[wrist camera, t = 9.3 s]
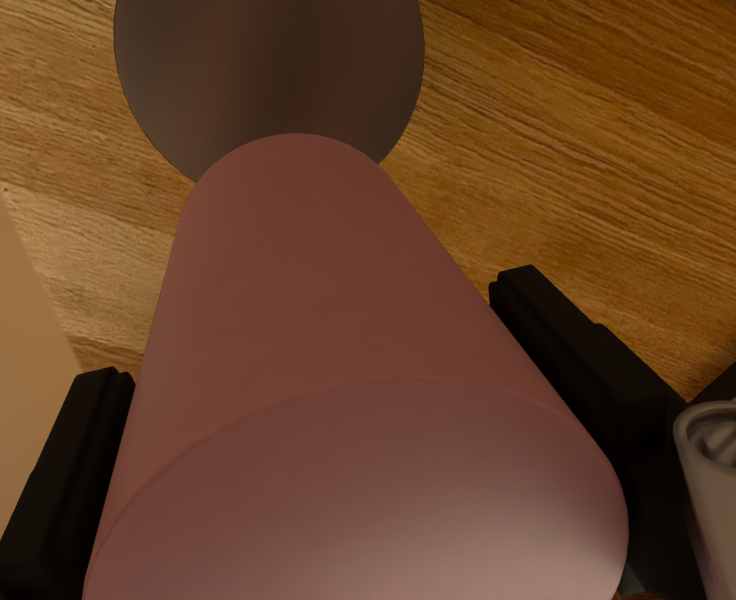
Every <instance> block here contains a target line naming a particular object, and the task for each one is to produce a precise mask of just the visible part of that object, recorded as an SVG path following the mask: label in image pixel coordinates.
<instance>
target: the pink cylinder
mask: <svg viewBox="0 0 736 600" xmlns="http://www.w3.org/2000/svg"><path fill="white" fill-rule="evenodd" d="M628 540H629V526H628V511H627V506H626V502H625V498H624V494H623V490H622V486H621V484H620V482H619V479H618V477H617V475H616V473H615V471H614V469H613V467H612V465H611V463H610V461H609V460H608V458H607V457H606V456H605V454H604V453H603V452H602V450H601V449H600V448H599V446H598V445H597V444H596V442H595V441H594V440H593V438H592V437H591V436H590V434H589V433H588V432H587V431H586V429H585V428H584V427H583V425H582V424H581V423H580V422H579V420H578V419H577V418H576V416H575V415H574V414H573V413H572V411H571V410H570V409H569V407H568V406H567V405H566V403H565V402H564V401H563V400H562V398H561V397H560V396H559V394H558V393H557V392H556V391H555V389H554V388H553V387H552V385H551V384H550V383H549V382H548V380H547V379H546V378H545V376H544V375H543V374H542V373H541V371H540V370H539V369H538V367H537V366H536V365H535V364H534V362H533V361H532V360H531V358H530V357H529V356H528V355H527V353H526V352H525V351H524V349H523V348H522V347H521V346H520V344H519V343H518V342H517V340H516V339H515V338H514V337H513V335H512V334H511V333H510V331H509V330H508V329H507V328H506V326H505V325H504V324H503V322H502V321H501V320H500V319H499V317H498V316H497V315H496V313H495V312H494V311H493V310H492V308H491V307H490V306H489V304H488V303H487V302H486V301H485V299H484V298H483V297H482V295H481V294H480V293H479V292H478V290H477V289H476V288H475V286H474V285H473V284H472V283H471V281H470V280H469V279H468V277H467V276H466V275H465V273H464V272H463V271H462V270H461V268H460V267H459V266H458V264H457V263H456V262H455V261H454V259H453V258H452V257H451V255H450V254H449V253H448V252H447V250H446V249H445V248H444V246H443V245H442V244H441V243H440V241H439V240H438V239H437V237H436V236H435V235H434V234H433V232H432V231H431V230H430V228H429V227H428V226H427V225H426V223H425V222H424V221H423V219H422V218H421V217H420V216H419V214H418V213H417V212H416V210H415V209H414V208H413V207H412V205H411V204H410V203H409V201H408V200H407V199H406V198H405V196H404V195H403V194H402V192H401V191H400V190H399V189H398V187H397V186H396V185H395V183H394V182H393V181H392V180H391V178H390V177H389V176H388V174H387V173H386V172H385V171H384V170H383V169H382V168H381V167H380V166H379V165H378V164H377V163H376V162H375V161H373V160H372V159H371V158H369V157H368V156H367V155H365V154H364V153H363V152H361V151H359V150H357V149H355V148H354V147H352V146H350V145H348V144H345V143H343V142H340V141H338V140H335V139H332V138H328V137H324V136H320V135H312V134H303V133H298V134H281V135H274V136H268V137H265V138H261V139H258V140H254V141H252V142H249V143H247V144H245V145H243V146H240V147H238V148H236V149H235V150H233V151H231V152H230V153H228V154H227V155H225V156H223V157H222V158H221V159H220V160H218V161H217V162H216V163H215V164H214V165H212V166H211V167H210V168H209V169H208V170H207V171H206V173H205V174H204V175H203V176H202V177H201V178H200V179H199V181H198V182H197V184H196V185H195V186H194V188H193V189H192V191H191V192H190V194H189V196H188V198H187V200H186V203H185V205H184V207H183V210H182V213H181V216H180V219H179V223H178V226H177V230H176V234H175V238H174V242H173V245H172V249H171V253H170V257H169V261H168V264H167V268H166V272H165V276H164V280H163V283H162V287H161V291H160V295H159V299H158V302H157V306H156V310H155V314H154V318H153V321H152V325H151V329H150V333H149V337H148V341H147V344H146V348H145V352H144V356H143V360H142V363H141V367H140V371H139V375H138V379H137V382H136V386H135V390H134V394H133V398H132V401H131V405H130V409H129V413H128V417H127V420H126V424H125V428H124V432H123V436H122V439H121V443H120V447H119V451H118V455H117V458H116V462H115V466H114V470H113V474H112V477H111V481H110V485H109V489H108V493H107V496H106V500H105V504H104V508H103V512H102V515H101V519H100V523H99V527H98V531H97V534H96V538H95V542H94V546H93V550H92V553H91V557H90V561H89V565H88V569H87V572H86V576H85V581H84V588H83V595H82V600H612V598H613V596H614V594H615V591H616V589H617V587H618V585H619V582H620V579H621V576H622V572H623V569H624V565H625V562H626V557H627V548H628Z"/></svg>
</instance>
